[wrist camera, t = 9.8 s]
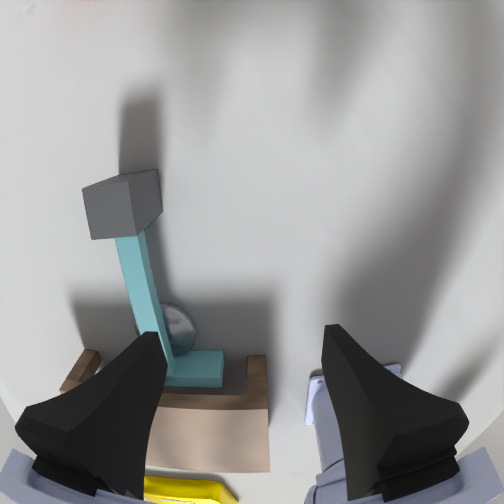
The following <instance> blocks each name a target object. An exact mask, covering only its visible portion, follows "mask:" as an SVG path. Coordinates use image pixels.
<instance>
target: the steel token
mask: <svg viewBox="0 0 504 504" xmlns="http://www.w3.org/2000/svg"><path fill="white" fill-rule="evenodd" d="M159 305H160V309H161V313H162V317H163V321H164V324H165V328H166V332H167V336H168V339H169V343H170V347H171V350H172V354H173V357H175V356H180V355H183V354H185V353H187V352H188V351H189V350H190V349H191V347H192V346H193V343H194V339H195V335H196V328H195V324H194V322H193V320H192V318H191V317H190V316H189V315H188V314H187V313H186V312H185V311H184V310H183V309H181V308H179V307H178V306H175V305H173V304H170V303H164V302H159ZM136 332H137V335H138V337H139V336H140V332H139V329H138V326H137V322H136Z"/></svg>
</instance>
